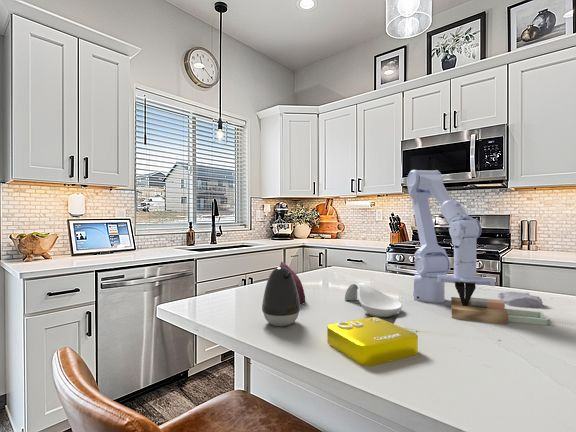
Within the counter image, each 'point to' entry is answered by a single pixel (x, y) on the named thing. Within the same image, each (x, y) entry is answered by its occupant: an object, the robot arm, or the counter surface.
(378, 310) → the spoon rest
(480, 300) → the grey steel block
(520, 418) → the counter surface
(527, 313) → the sage tray
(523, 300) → the stone block
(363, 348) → the element tile
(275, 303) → the black egg shape
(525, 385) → the counter surface
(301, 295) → the vegetable
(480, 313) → the oak channel board
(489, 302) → the terracotta block
